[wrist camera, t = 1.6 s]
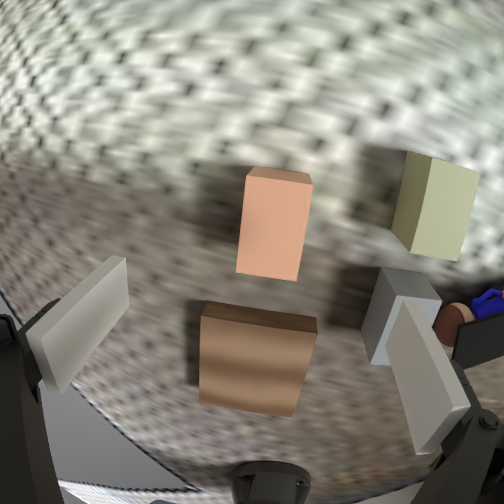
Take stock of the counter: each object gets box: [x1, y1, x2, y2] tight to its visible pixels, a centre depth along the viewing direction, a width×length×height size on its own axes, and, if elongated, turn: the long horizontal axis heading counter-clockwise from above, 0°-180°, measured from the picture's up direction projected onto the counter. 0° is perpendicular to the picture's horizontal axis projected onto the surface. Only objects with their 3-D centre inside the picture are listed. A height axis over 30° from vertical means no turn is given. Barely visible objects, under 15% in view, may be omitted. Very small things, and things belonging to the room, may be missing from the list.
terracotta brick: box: [236, 166, 313, 281], centre depth 27 cm, size 8×5×6 cm, turn 174°
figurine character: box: [435, 288, 504, 370], centre depth 28 cm, size 7×8×15 cm
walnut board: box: [199, 301, 318, 417], centre depth 36 cm, size 14×12×3 cm
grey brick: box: [361, 267, 442, 365], centre depth 30 cm, size 8×5×6 cm, turn 174°
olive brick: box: [391, 151, 480, 261], centre depth 25 cm, size 8×5×6 cm, turn 174°
